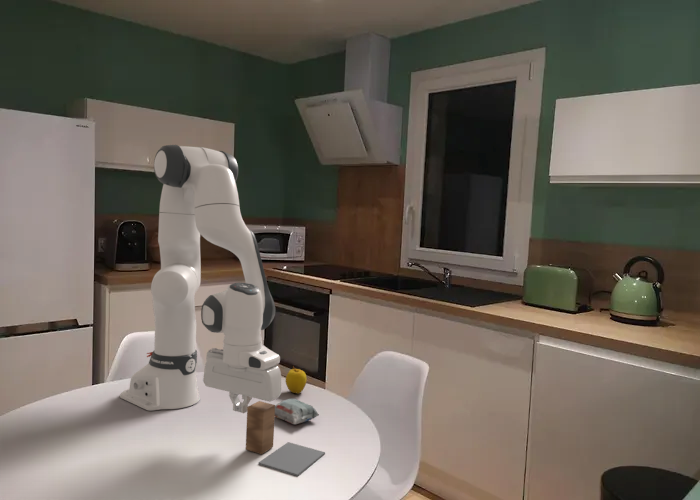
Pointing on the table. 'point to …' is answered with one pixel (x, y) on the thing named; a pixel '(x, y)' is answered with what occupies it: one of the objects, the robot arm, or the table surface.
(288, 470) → the mat
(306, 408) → the packaged food
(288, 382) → the apple
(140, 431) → the table surface
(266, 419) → the pillar
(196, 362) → the robot arm
